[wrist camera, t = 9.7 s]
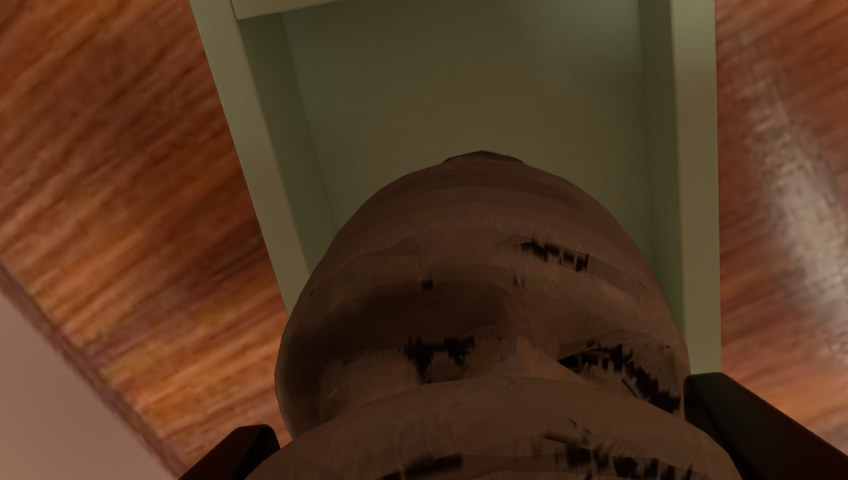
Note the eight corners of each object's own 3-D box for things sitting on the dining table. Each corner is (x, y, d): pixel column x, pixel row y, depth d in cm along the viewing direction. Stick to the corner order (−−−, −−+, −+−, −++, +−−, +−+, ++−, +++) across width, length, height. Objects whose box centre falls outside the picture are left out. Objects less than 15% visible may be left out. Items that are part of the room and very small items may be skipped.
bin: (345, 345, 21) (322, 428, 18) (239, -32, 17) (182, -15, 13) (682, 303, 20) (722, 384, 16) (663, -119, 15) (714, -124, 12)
